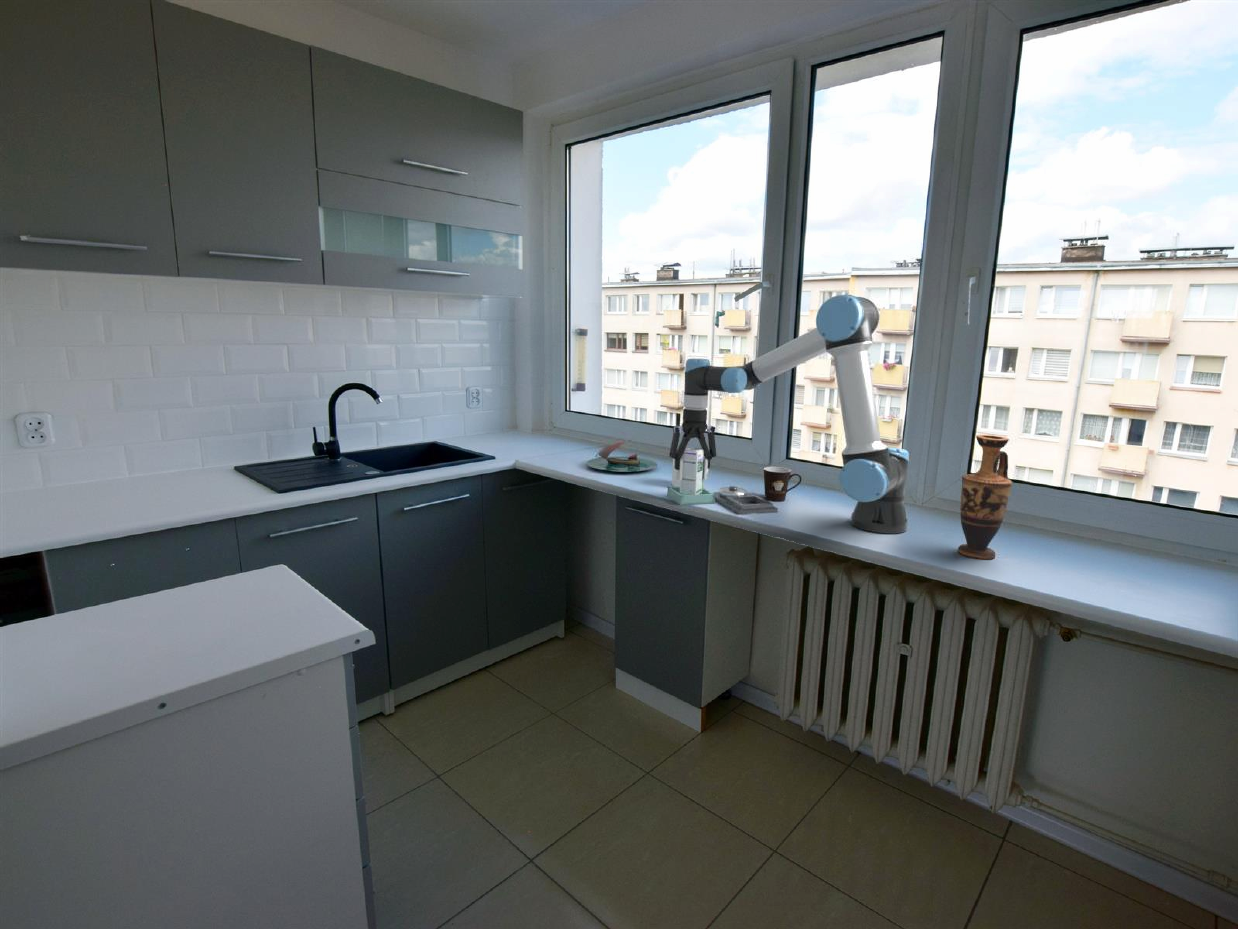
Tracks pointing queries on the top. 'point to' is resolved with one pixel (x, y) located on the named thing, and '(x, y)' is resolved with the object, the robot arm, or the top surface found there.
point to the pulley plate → (743, 501)
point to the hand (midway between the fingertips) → (691, 479)
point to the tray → (691, 497)
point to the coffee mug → (777, 483)
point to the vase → (985, 498)
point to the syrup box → (692, 471)
